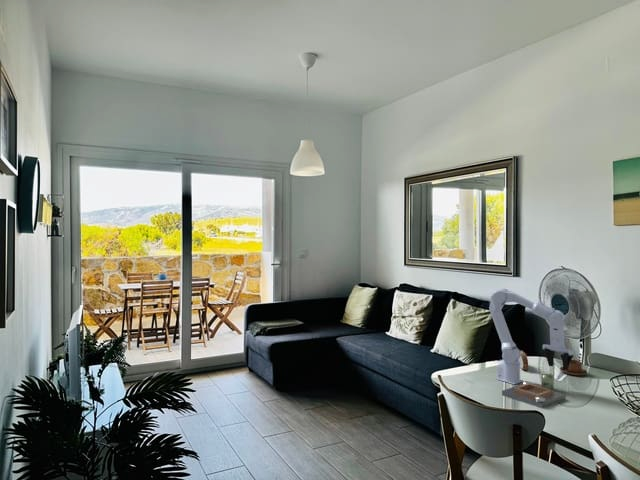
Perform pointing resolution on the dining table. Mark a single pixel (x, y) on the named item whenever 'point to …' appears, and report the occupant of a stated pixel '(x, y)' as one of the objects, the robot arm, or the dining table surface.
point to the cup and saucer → (574, 368)
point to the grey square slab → (533, 395)
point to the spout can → (548, 381)
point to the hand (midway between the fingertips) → (558, 367)
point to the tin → (523, 361)
